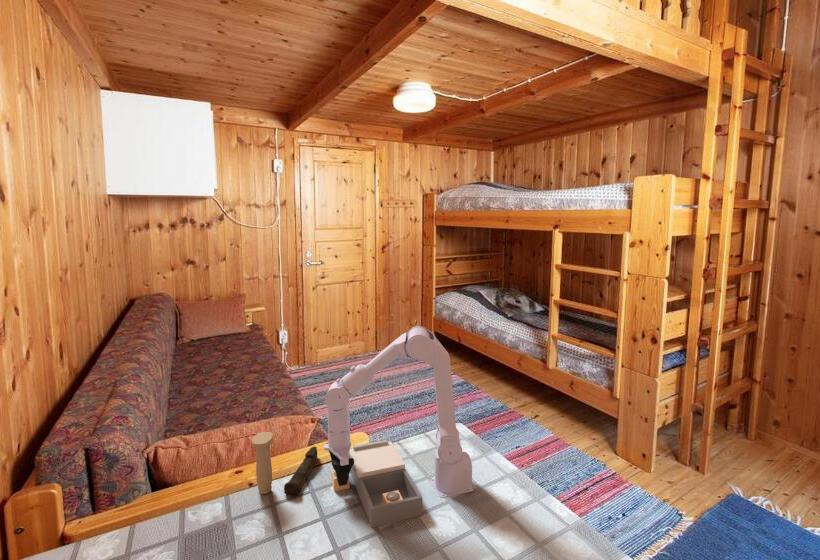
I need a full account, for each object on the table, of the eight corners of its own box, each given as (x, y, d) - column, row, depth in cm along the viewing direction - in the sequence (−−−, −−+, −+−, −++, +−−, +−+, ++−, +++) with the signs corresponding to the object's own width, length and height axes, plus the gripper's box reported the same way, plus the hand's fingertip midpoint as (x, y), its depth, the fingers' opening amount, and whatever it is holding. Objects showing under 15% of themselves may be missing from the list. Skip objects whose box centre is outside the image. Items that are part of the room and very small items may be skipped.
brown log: (298, 498, 110) (297, 482, 109) (283, 496, 111) (283, 480, 110) (325, 459, 128) (325, 444, 128) (312, 457, 129) (312, 443, 128)
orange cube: (346, 481, 117) (346, 467, 116) (349, 490, 113) (349, 475, 112) (331, 484, 115) (331, 469, 115) (334, 493, 112) (333, 478, 111)
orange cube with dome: (398, 505, 106) (398, 489, 106) (403, 515, 102) (403, 498, 102) (382, 508, 105) (382, 492, 104) (387, 519, 101) (387, 502, 100)
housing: (390, 461, 126) (390, 445, 126) (422, 516, 103) (422, 497, 102) (348, 469, 122) (348, 452, 122) (371, 529, 98) (371, 509, 98)
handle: (252, 499, 109) (249, 444, 107) (259, 484, 115) (256, 432, 113) (271, 498, 110) (268, 443, 107) (277, 483, 116) (274, 431, 114)
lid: (390, 445, 125) (390, 438, 125) (405, 468, 114) (405, 461, 113) (348, 453, 121) (348, 446, 121) (358, 478, 109) (358, 470, 109)
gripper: (319, 418, 117) (320, 464, 119) (327, 444, 104) (329, 495, 106) (345, 414, 120) (345, 459, 122) (356, 439, 106) (357, 489, 108)
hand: (340, 476), depth 114 cm, fingers open, 7 cm apart
